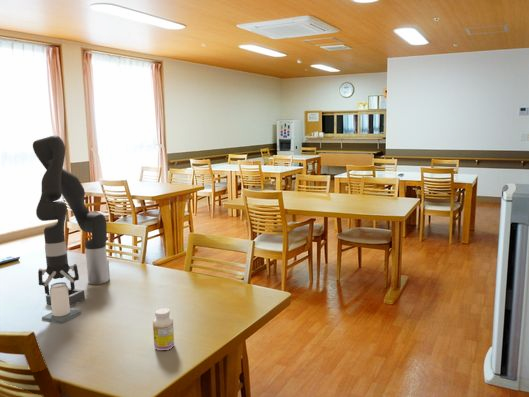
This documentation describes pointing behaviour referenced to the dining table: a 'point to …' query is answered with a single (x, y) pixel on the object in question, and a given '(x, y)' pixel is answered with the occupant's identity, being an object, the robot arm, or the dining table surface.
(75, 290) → the sleeve
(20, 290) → the dining table surface
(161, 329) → the supplement bottle
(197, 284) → the dining table surface
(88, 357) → the dining table surface
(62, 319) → the mat
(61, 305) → the can
